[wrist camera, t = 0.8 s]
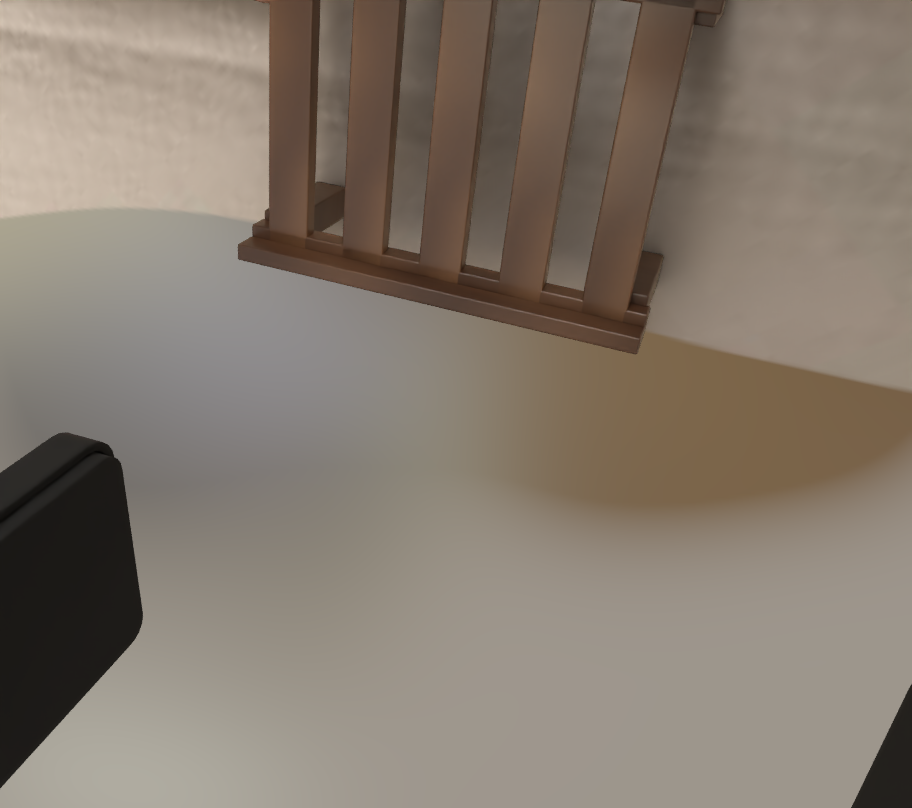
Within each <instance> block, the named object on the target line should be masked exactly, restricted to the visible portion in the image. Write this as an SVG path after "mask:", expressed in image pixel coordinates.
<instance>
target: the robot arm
mask: <svg viewBox="0 0 912 808" xmlns="http://www.w3.org/2000/svg"><path fill="white" fill-rule="evenodd" d="M142 620H143V611H142V605H141V597H140V590H139V584H138V577H137V569H136V563H135V556H134V548H133V541H132V534H131V528H130V520H129V513H128V507H127V499H126V492H125V485H124V478H123V471H122V467H121V463H120V462H119V460H118V459H116V458H114V455H113V451H112V450H111V448H110V447H109V445H107V444H105V443H103V442H100V441H96V440H93V439H89V438H85V437H82V436H78V435H74V434H71V433H59V434H57V435H55V436H53V437H51V438H50V439H48V440H47V441H46V442H44V443H42V444H41V445H40V446H38V447H37V448H35V449H34V450H33V451H31V452H30V453H28V454H27V455H25V456H24V457H23V458H21V459H20V460H18V461H17V462H15V463H14V464H12V465H11V466H10V467H8V468H7V469H5V470H4V471H2V472H1V473H0V788H1V787H2V786H3V785H4V784H5V783H6V781H7V780H8V779H9V778H10V777H11V776H12V775H13V774H14V773H15V771H16V770H17V769H18V768H19V767H20V766H21V765H22V764H23V763H24V761H25V760H26V759H27V758H28V757H29V756H30V755H31V754H32V753H33V751H35V749H36V748H37V747H38V746H39V745H40V744H41V743H42V742H43V741H44V740H45V738H46V737H47V736H48V735H49V734H50V733H51V732H52V731H53V730H54V729H55V727H56V726H57V725H58V724H59V723H60V722H61V721H62V720H63V719H64V718H65V716H66V715H67V714H68V713H69V712H70V711H71V710H72V709H73V708H74V707H75V705H76V704H77V703H78V702H79V701H80V700H81V699H82V698H83V697H84V696H85V694H86V693H87V692H88V691H89V690H90V689H91V688H92V687H93V686H94V684H95V683H96V682H97V681H98V680H99V679H100V678H101V677H102V676H103V675H104V674H105V672H106V671H107V670H108V669H109V668H110V667H111V666H112V665H113V664H114V662H115V661H116V660H117V659H118V658H119V657H120V656H121V655H122V654H123V653H124V651H125V650H126V649H127V648H128V647H129V646H130V645H131V644H132V642H133V641H134V640H135V638H136V636H137V635H138V633H139V630H140V628H141V624H142ZM851 808H912V685H911V686H910V688H909V690H908V692H907V694H906V696H905V698H904V700H903V702H902V704H901V707H900V708H899V710H898V713H897V715H896V717H895V719H894V721H893V723H892V725H891V727H890V729H889V731H888V733H887V736H886V738H885V740H884V741H883V744H882V745H881V748H880V750H879V752H878V754H877V756H876V758H875V760H874V762H873V764H872V766H871V768H870V770H869V772H868V774H867V776H866V778H865V781H864V783H863V785H862V787H861V789H860V791H859V793H858V795H857V797H856V799H855V801H854V803H853V805H852V807H851Z"/></svg>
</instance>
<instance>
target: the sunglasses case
mask: <svg viewBox="0 0 912 808" xmlns="http://www.w3.org/2000/svg"><path fill="white" fill-rule="evenodd" d="M255 1H259V2H262V3H269V4H270V0H255Z"/></svg>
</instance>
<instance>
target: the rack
mask: <svg viewBox="0 0 912 808" xmlns="http://www.w3.org/2000/svg"><path fill="white" fill-rule="evenodd" d="M406 1H407V0H354V7H353V29H352V51H351V72H350V94H349V116H348V137H347V159H346V181H345V187H341V186H336V185H331V184H327V183H322V182H317V183H315V172H316V137H317V102H318V66H319V31H320V0H270V30H269V208H268V209H267V210H265V219H262V220H261V221H259V222H257V223H255V224H253V227H252V228H253V229H252V230H253V237H250V238H248V239H247V240H245V241H243V242H241V243H240V244H238V259H239V260H243V261H247V262H252V263H256V264H260V265H264V266H269V267H273V268H277V269H281V270H286V271H289V272H294V273H298V274H302V275H306V276H310V277H315V278H319V279H323V280H327V281H331V282H336V283H340V284H344V285H348V286H352V287H357V288H361V289H364V290H369V291H373V292H377V293H382V294H385V295H390V296H394V297H398V298H402V299H407V300H410V301H415V302H419V303H423V304H427V305H431V306H436V307H440V308H444V309H448V310H452V311H456V312H461V313H465V314H469V315H473V316H477V317H481V318H486V319H490V320H494V321H498V322H502V323H507V324H511V325H515V326H519V327H523V328H528V329H532V330H536V331H540V332H544V333H548V334H552V335H557V336H561V337H565V338H569V339H573V340H578V341H582V342H586V343H590V344H594V345H599V346H603V347H607V348H611V349H615V350H619V351H624V352H628V353H632V354H637V353H638V350H639V347H640V344H641V341H642V339H643V335H644V333H645V329H646V325H647V321H648V317H649V312H650V303H651V300H652V297H653V294H654V292H655V289H656V286H657V282H658V278H659V274H660V270H661V266H662V262H663V258H664V257H663V255H660V254H655V253H650V252H646V251H642V249H643V245H644V240H645V236H646V232H647V227H648V223H649V219H650V214H651V210H652V206H653V201H654V197H655V193H656V188H657V184H658V180H659V175H660V171H661V167H662V162H663V158H664V153H665V149H666V145H667V140H668V136H669V132H670V127H671V123H672V119H673V114H674V110H675V106H676V101H677V97H678V93H679V88H680V84H681V80H682V75H683V71H684V67H685V62H686V58H687V54H688V49H689V45H690V41H691V36H692V32H693V28H694V25H701V26H707V27H714V26H715V25H716V23H717V22H718V20H719V19H720V18H721V16H722V15H723V12H724V8H725V4H726V0H622V1H628V2H635V3H641V7H640V12H639V17H638V22H637V27H636V32H635V37H634V42H633V47H632V52H631V57H630V62H629V67H628V72H627V77H626V82H625V87H624V92H623V97H622V102H621V107H620V112H619V117H618V122H617V127H616V132H615V137H614V142H613V147H612V152H611V157H610V162H609V167H608V172H607V177H606V182H605V187H604V192H603V197H602V202H601V207H600V212H599V217H598V222H597V227H596V232H595V237H594V242H593V247H592V252H591V257H590V262H589V267H588V272H587V277H586V282H585V287H584V291H580V290H576V289H571V288H567V287H563V286H558V285H554V284H549V283H546V281H547V276H548V270H549V264H550V258H551V253H552V247H553V241H554V236H555V230H556V224H557V218H558V213H559V207H560V201H561V196H562V190H563V184H564V178H565V173H566V167H567V161H568V156H569V150H570V144H571V138H572V133H573V127H574V121H575V115H576V110H577V104H578V98H579V93H580V87H581V81H582V75H583V70H584V64H585V58H586V53H587V47H588V41H589V35H590V30H591V24H592V18H593V13H594V7H595V1H596V0H539V6H538V13H537V20H536V27H535V34H534V41H533V48H532V55H531V61H530V68H529V75H528V82H527V89H526V96H525V103H524V110H523V117H522V124H521V130H520V137H519V144H518V151H517V158H516V165H515V172H514V179H513V186H512V193H511V199H510V206H509V213H508V220H507V227H506V234H505V241H504V248H503V255H502V262H501V269H500V272H496V271H492V270H488V269H483V268H479V267H474V266H470V265H466V257H467V248H468V240H469V232H470V224H471V216H472V208H473V200H474V191H475V183H476V175H477V167H478V159H479V151H480V143H481V134H482V126H483V118H484V110H485V102H486V94H487V86H488V77H489V69H490V61H491V53H492V45H493V37H494V29H495V20H496V12H497V4H498V0H444V3H443V14H442V24H441V35H440V46H439V56H438V67H437V77H436V88H435V99H434V109H433V120H432V131H431V141H430V152H429V163H428V173H427V184H426V195H425V205H424V216H423V226H422V237H421V248H420V254H417V253H412V252H408V251H404V250H399V249H395V248H390V247H388V244H389V230H390V217H391V203H392V190H393V176H394V163H395V149H396V136H397V122H398V109H399V95H400V82H401V68H402V55H403V41H404V28H405V14H406ZM342 218H344V224H343V237H342V236H337V235H333V234H328V233H324V232H322V231H324V230H325V229H327V228H328V227H330V226H332V225H333V224H335V223H336V222H338V221H339V220H341V219H342Z"/></svg>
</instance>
